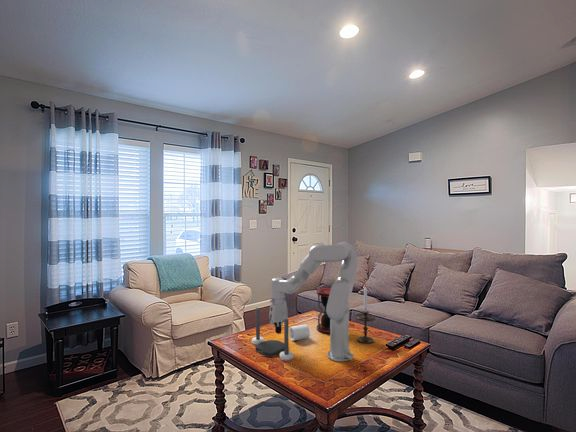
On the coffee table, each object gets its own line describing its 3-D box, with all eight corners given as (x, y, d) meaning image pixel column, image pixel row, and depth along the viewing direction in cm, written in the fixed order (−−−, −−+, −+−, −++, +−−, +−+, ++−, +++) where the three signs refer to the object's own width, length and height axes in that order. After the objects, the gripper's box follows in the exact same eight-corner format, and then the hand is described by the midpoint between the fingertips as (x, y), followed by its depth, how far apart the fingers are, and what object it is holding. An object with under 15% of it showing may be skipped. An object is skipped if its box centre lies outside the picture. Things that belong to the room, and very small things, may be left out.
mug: (309, 340, 200) (309, 326, 200) (294, 343, 196) (294, 329, 196) (301, 333, 211) (301, 320, 211) (286, 335, 207) (286, 322, 207)
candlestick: (354, 343, 195) (354, 282, 194) (357, 336, 205) (357, 278, 204) (374, 345, 192) (374, 283, 190) (375, 338, 202) (375, 279, 201)
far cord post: (266, 342, 197) (266, 308, 196) (256, 345, 192) (256, 310, 192) (259, 339, 202) (259, 305, 202) (249, 342, 198) (249, 308, 197)
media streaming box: (290, 350, 187) (290, 345, 187) (269, 358, 177) (269, 353, 177) (272, 342, 198) (272, 337, 198) (252, 350, 188) (252, 344, 188)
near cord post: (295, 358, 177) (295, 320, 176) (285, 362, 172) (285, 323, 172) (287, 353, 182) (287, 316, 182) (277, 357, 178) (276, 319, 177)
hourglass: (312, 326, 222) (312, 288, 221) (335, 324, 227) (335, 286, 226) (322, 335, 207) (322, 295, 206) (346, 332, 211) (346, 292, 210)
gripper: (271, 304, 182) (271, 338, 183) (292, 299, 191) (292, 331, 192) (263, 301, 188) (263, 334, 188) (284, 296, 197) (284, 327, 198)
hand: (278, 332), depth 190 cm, fingers closed
